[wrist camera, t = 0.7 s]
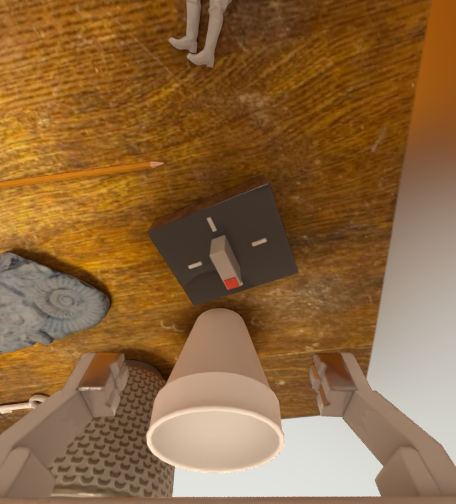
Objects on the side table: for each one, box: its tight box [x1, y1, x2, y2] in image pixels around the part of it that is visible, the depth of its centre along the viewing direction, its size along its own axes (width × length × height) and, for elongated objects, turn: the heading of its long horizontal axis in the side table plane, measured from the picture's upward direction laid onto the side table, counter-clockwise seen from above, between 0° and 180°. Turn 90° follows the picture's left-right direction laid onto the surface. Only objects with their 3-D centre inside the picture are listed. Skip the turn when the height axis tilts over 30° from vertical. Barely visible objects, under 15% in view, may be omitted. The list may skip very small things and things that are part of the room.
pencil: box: [0, 161, 167, 189], centre depth 23 cm, size 19×1×1 cm, turn 97°
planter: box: [48, 360, 175, 498], centre depth 32 cm, size 17×17×16 cm
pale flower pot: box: [146, 308, 284, 473], centre depth 27 cm, size 12×12×14 cm
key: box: [0, 395, 48, 414], centre depth 42 cm, size 12×1×4 cm
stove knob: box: [210, 235, 241, 290], centre depth 22 cm, size 4×1×3 cm, turn 23°
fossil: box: [0, 252, 110, 354], centre depth 29 cm, size 13×18×4 cm
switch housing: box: [147, 175, 298, 306], centre depth 25 cm, size 12×10×3 cm
